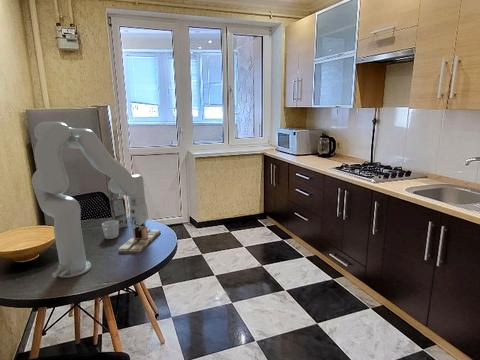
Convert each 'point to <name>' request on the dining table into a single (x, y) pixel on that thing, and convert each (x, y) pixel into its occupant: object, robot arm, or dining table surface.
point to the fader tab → (144, 232)
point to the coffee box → (118, 210)
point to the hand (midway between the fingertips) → (140, 235)
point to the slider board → (139, 243)
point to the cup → (110, 229)
